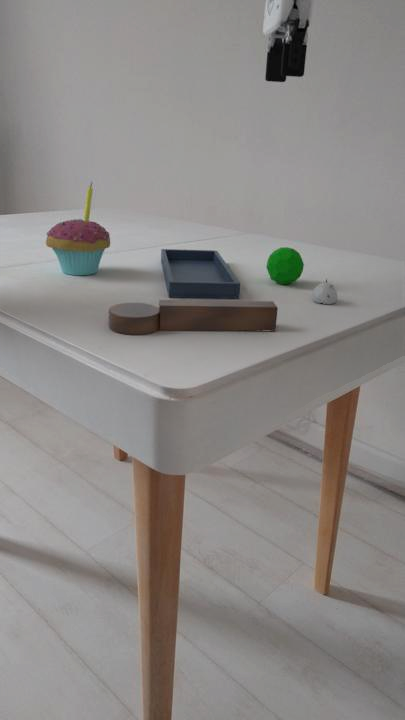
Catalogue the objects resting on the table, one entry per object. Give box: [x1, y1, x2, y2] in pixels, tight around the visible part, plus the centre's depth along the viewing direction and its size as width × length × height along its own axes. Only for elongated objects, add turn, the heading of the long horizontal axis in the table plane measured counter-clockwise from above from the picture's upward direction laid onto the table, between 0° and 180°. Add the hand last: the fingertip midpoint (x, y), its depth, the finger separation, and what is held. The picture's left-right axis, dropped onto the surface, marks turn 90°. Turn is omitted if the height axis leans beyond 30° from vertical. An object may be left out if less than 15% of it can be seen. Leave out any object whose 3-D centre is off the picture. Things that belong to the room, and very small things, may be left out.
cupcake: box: [45, 181, 111, 276], centre depth 76 cm, size 9×8×12 cm
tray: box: [160, 248, 241, 300], centre depth 78 cm, size 9×21×2 cm, turn 6°
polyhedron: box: [266, 246, 305, 285], centre depth 77 cm, size 5×5×5 cm
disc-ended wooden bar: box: [108, 299, 279, 336], centre depth 58 cm, size 17×5×3 cm, turn 96°
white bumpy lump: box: [311, 278, 339, 305], centre depth 70 cm, size 3×4×3 cm
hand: (283, 78), depth 84 cm, fingers open, 9 cm apart
